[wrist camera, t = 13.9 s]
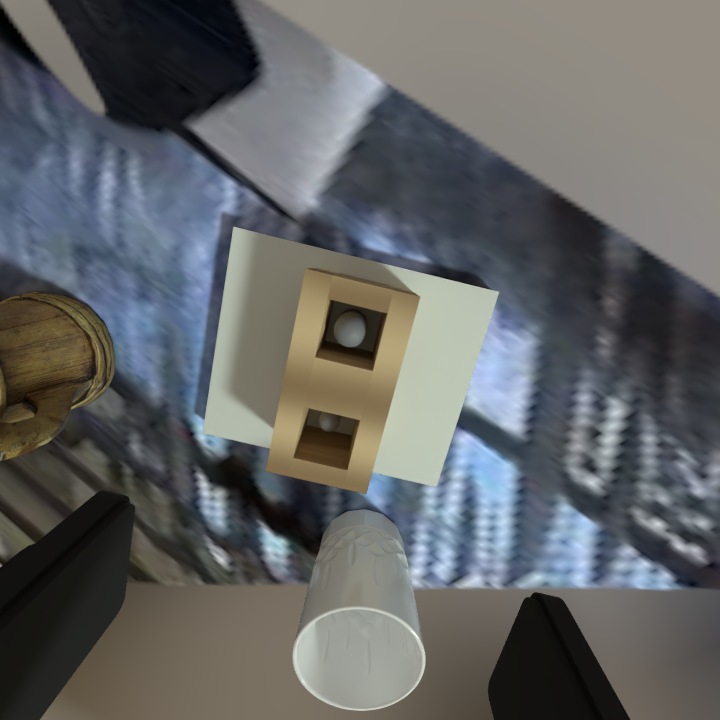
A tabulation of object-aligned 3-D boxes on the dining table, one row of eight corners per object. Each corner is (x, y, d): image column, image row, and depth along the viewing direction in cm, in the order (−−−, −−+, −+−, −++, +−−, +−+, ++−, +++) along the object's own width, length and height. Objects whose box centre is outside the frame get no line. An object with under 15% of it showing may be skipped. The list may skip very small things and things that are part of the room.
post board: (492, 290, 27) (525, 297, 22) (433, 476, 31) (447, 525, 25) (240, 228, 27) (204, 219, 21) (210, 424, 30) (172, 463, 25)
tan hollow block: (317, 267, 26) (305, 268, 21) (411, 290, 26) (420, 296, 21) (283, 436, 29) (265, 471, 24) (367, 455, 29) (366, 494, 24)
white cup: (317, 497, 32) (294, 601, 22) (414, 505, 32) (432, 612, 22) (313, 578, 34) (290, 705, 24) (404, 585, 34) (418, 716, 24)
